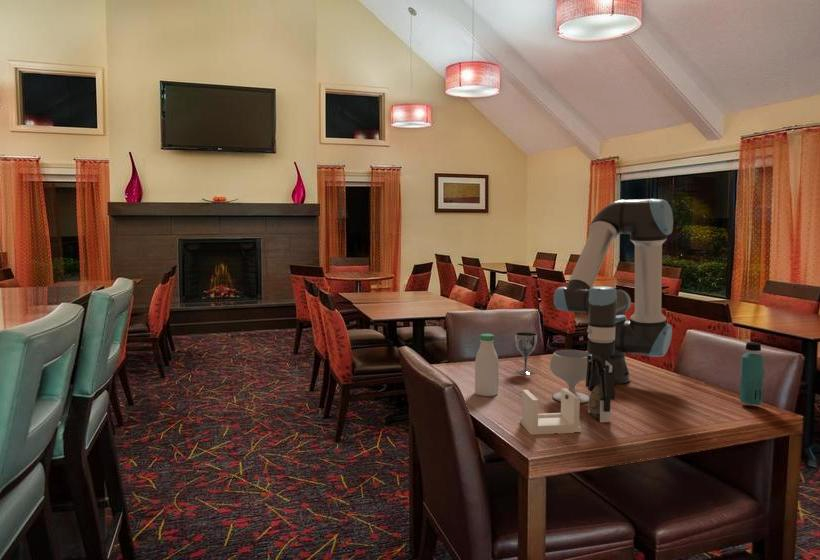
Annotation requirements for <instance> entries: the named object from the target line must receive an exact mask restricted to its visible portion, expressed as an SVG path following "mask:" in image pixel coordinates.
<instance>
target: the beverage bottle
mask: <svg viewBox="0 0 820 560" xmlns="http://www.w3.org/2000/svg"><path fill="white" fill-rule="evenodd" d="M745 350H746V351H752V352H745V353H743V354H742V355H741V360H740V361H741V362H740V363H741V364H740V365H741V366H740V378H739V388H738V389H739V390H738V391H739V394H738V395H739V396H738V397H739V398H738V399H739V401H740V402H741V403H743V404H746V405H754V406H757V405H762V404H763V402H764V388H765V387H764V378H765V377H764V376H765V357H764V356H763V355H762V354H761V353H758V352H760V351H761V350H762V345H761V343H759V342H752V341H751V342H750V341H749V342H746V344H745Z"/></svg>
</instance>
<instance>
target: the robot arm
mask: <svg viewBox="0 0 820 560" xmlns="http://www.w3.org/2000/svg"><path fill="white" fill-rule="evenodd" d="M673 226H674V216H673V209H672V207H671V205H670V204H669V201H667V200H665V199H661V198H644V199H643V198H642V199H641V198H639V199H619V200H616V201H612V202H611V203H609V204H608V205H606V206H604V207H603V208H602V209H601V210H599V212H598V213H597V214H596V215H595V217H593V219H592V221H591V222H590V224H589V226H588V227H589V228H588V237H587V239H586V241H585V244H584V246H583V249H582V251H581V252H580V255H579V257H578V260H577V262H576V264H575V267H574V268H573V271H572V272H571V275H570V278H569V281H568V282H567V285H566V286H558V287H557V288H556V289H555V291H554V294H553V304H554V307H555V308H556V310H559V311H564V312H568V313H569V312H571V313H572V312H574V313H584V314H586V313H587V314H588V323H587V325H588V326H587V329H586V332H587V338H588V339H587V340H588V341H587V350H586V352H588V353H590V354H591V355H588V356H587V362H588V363H587V374H586V379H585V387H587V390H588V396H589V399H590V395H591V393H592V390H593V389H594V387H595V386H596V385H599V384H600V386H601V394H602V398H600V418H599V422H600V423H611V402H612V401H614V400H615V399H616V388H615V386H616V385H618V384H619V385H621V384H625V383H628V382H630V372H629V368H628V365H627V361H626V354H632V355H640V356H647V357H650V358H651V357H657V358H660V357H664V356H665V355H666V354H667V352H668V350H669V348H670V345H671V340H672V336H673V325H671V324H670V323H667V317H666V316H665V315H664V314H663V313H662V286H663V285H662V281H663V278H662V277H663V272H662V271H663V267H662V266H663V244H664V243H665V242H666V241H667V239H668V236H669V235H671V234H673V233H672V232H673V229H674V227H673ZM622 234H623V235H629V241H630V242H631V243H632V244H633V245H634V313H633V314H631V316H630V317H629V319H628V318H627V316H626V315H623V314H624V313H625V312H627V311H628V310H629V309H630V308H631V306H632V305H631V304H632V299H631V297H630V294H629V293H628V292H627V291H625V290H623V289H616V288H615V287H613V286H606V285H605V286H604V285H603V286H594V284H595V282H596V279H597V277H598V274H599V272H600V269H601V267H602V265H603V263H604V261H605V258H606V256H607V253H608V250H609V248H610V246H611V243H612V242H613V241H616V239H617V237H618V235H622ZM587 410H588V412H587V413H589V414H591V412H590V410H589V408H588V409H587Z"/></svg>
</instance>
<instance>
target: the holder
mask: <svg viewBox="0 0 820 560" xmlns="http://www.w3.org/2000/svg"><path fill="white" fill-rule="evenodd" d="M560 390H561V391H560V392H561V401H560V412H552V413H551V412H550V413H548V412H547V413H546V412H545V413H539V404H540V403H539V399H538V398H537V397H536V395H534V394H533V393H531V391H530V390H529V389H522V391H521V393H522V394H521V397H522V398H521V416H520V417H519V423H520V424H521V425H522V427H523V428H524V429H525V430H526V431H527V432H528V434H530V435H532V436H533V435H555V434H554V433H558V434H575V433H574V432H581V433H582V431H581V430H582V427H581V426H580V407H581V406H580V404H581V403H580V398H578V397H577V396H576V395H574V394H573V393H572V392H570V391H569V388H564V387H563V388H561V389H560Z"/></svg>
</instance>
